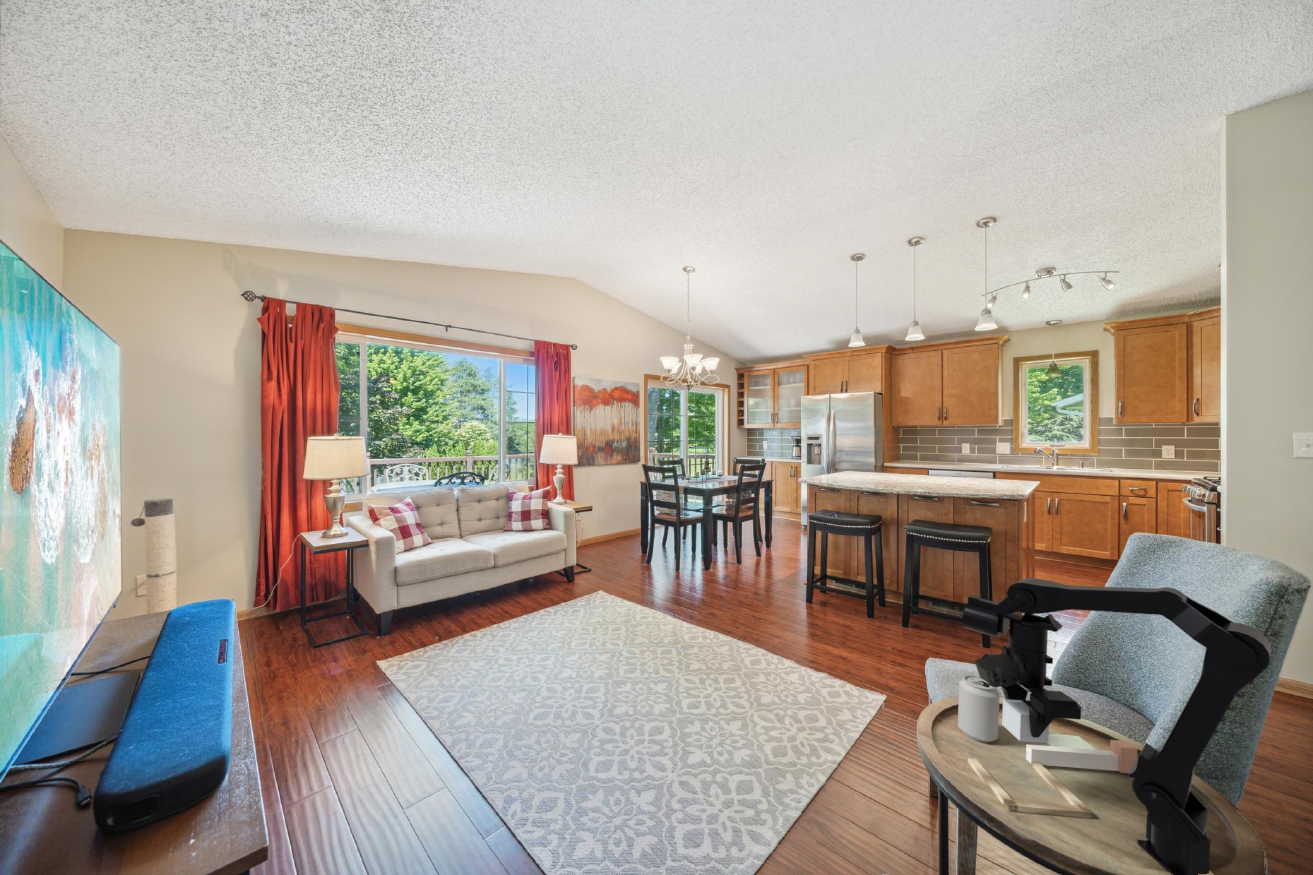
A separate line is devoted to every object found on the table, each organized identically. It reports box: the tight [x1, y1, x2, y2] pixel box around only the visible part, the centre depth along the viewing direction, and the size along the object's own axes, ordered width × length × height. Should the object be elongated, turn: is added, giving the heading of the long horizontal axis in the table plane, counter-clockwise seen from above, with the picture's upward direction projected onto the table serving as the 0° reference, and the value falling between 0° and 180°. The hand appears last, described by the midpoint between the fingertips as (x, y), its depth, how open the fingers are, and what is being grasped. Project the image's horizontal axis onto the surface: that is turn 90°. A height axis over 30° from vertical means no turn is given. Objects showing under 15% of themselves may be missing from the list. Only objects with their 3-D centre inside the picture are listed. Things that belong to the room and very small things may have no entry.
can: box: [957, 674, 1000, 743], centre depth 106 cm, size 8×8×12 cm
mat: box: [1046, 733, 1097, 750], centre depth 102 cm, size 9×9×1 cm
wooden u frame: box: [967, 757, 1094, 819], centre depth 89 cm, size 12×14×1 cm
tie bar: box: [1025, 739, 1138, 774], centre depth 96 cm, size 2×20×5 cm, turn 86°
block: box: [1001, 698, 1050, 744], centre depth 90 cm, size 5×5×5 cm
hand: (1024, 728), depth 90 cm, fingers closed on block, 5 cm apart
